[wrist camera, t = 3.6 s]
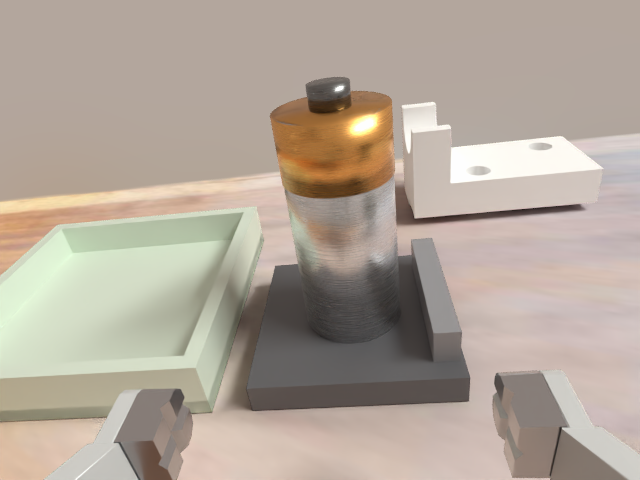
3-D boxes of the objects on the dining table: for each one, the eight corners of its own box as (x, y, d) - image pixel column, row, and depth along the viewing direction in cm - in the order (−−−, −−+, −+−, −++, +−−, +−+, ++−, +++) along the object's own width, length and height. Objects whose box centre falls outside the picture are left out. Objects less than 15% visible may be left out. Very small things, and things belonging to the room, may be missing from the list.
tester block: (252, 410, 22) (237, 361, 20) (279, 284, 30) (270, 242, 29) (468, 400, 21) (471, 348, 19) (432, 273, 29) (432, 229, 27)
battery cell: (303, 347, 23) (255, 105, 17) (310, 285, 27) (274, 76, 21) (406, 341, 22) (396, 89, 16) (396, 279, 26) (385, 63, 20)
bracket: (414, 229, 35) (412, 132, 31) (404, 190, 41) (401, 105, 37) (594, 213, 33) (615, 111, 30) (556, 175, 39) (568, 86, 36)
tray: (-87, 425, 24) (-123, 385, 22) (72, 256, 37) (57, 224, 36) (211, 412, 22) (195, 367, 20) (263, 240, 36) (256, 206, 34)
